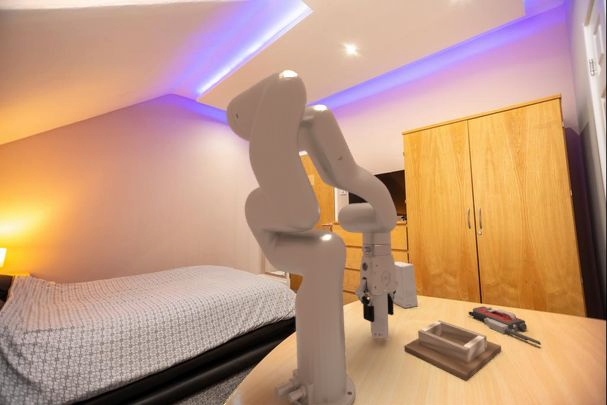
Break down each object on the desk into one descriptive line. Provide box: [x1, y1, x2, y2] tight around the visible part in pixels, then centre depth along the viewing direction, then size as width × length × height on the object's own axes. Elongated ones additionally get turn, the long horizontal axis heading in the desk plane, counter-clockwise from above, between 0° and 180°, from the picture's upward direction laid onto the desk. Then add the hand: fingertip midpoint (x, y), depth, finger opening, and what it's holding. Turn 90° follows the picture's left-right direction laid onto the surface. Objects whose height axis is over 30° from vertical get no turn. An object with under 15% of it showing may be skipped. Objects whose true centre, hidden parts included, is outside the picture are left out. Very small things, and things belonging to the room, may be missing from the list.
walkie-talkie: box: [468, 305, 541, 346], centre depth 72 cm, size 9×4×20 cm
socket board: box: [403, 319, 502, 382], centre depth 62 cm, size 18×14×4 cm
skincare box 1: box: [370, 290, 389, 339], centre depth 68 cm, size 6×4×12 cm
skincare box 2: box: [393, 261, 419, 309], centre depth 94 cm, size 8×6×15 cm
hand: (378, 316), depth 68 cm, fingers closed on skincare box 1, 7 cm apart
